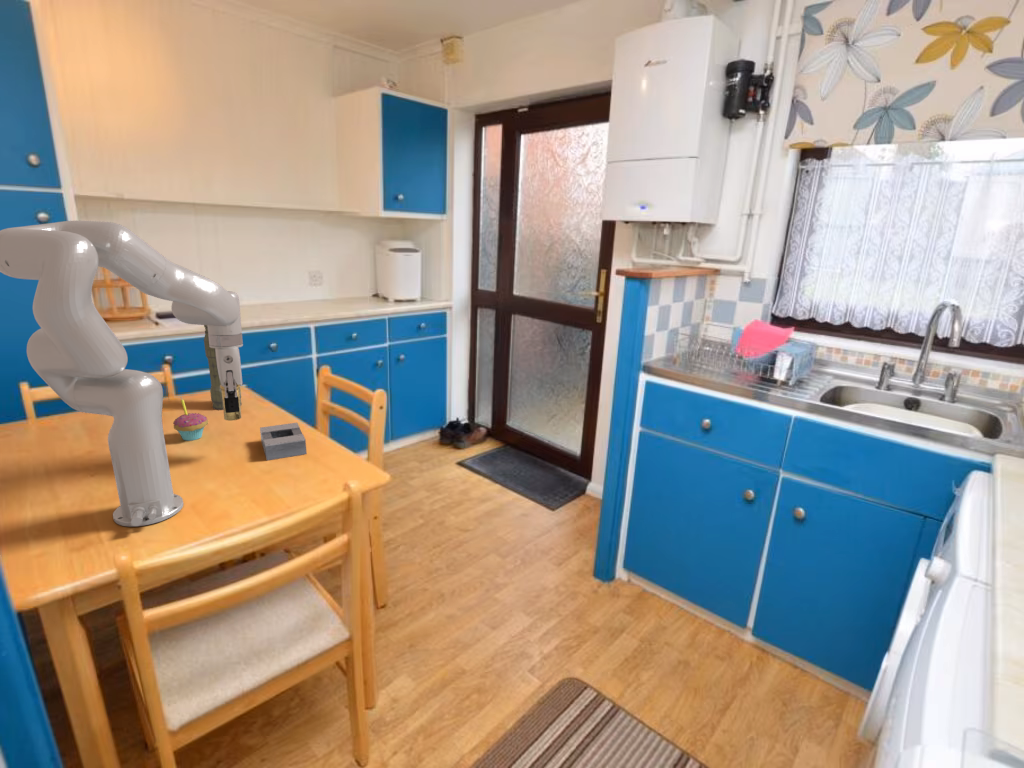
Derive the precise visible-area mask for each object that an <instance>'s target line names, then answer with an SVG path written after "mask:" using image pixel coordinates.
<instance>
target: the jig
mask: <svg viewBox="0 0 1024 768" xmlns="http://www.w3.org/2000/svg"><path fill="white" fill-rule="evenodd" d="M259 431H260V432H259V433H260V441H261V445H262V449H263V452H264V455H265V459H266V461H271V460H278V459H284V458H291V457H298V456H302V455H307V454H308V453H307V441H306V438H305V436H304V433H303V431H301V427H300V425H299V423H298V422H291V423H290V422H289V423H284V424H276V425H270V426H262V427H259Z"/></svg>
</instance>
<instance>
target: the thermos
mask: <svg viewBox="0 0 1024 768" xmlns="http://www.w3.org/2000/svg"><path fill="white" fill-rule="evenodd" d="M203 327H204V337H203V338H204V339H203V343H204V345H203V346H204V352H205V357H206V359H207V361H208V363H207V364H208V368H209V369H208V370H209V377H210V389H209V390H210V391H209V393H210V398H211V399H210V400H211V402H212V408H213V409H214V410H218V411H224V410H223V399H222V390H221V389H220V385H221V382H220V378H219V374H218V368H217V361H216V351H215V348H210V347H209V336H208V326H207V325H203ZM239 395H240V406H242V404H243V403H242V399H241V398H242V392H241V387H240V388H239Z"/></svg>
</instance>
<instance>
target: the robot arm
mask: <svg viewBox="0 0 1024 768" xmlns="http://www.w3.org/2000/svg"><path fill="white" fill-rule="evenodd" d="M99 267H100V268H103V269H106V270H108V271H109V272H111V273H112V274H114V275H115V276H117V277H118V278H120V279H121V280H124V282H127V283H128V284H129V285H131V286H132V287H134V288H135V289H137V290H138V291H140V293H143V294H146V295H148V296H149V297H150V296H151V297H154V298H158V299H160V300H165V301H170V302H171V306H170V307H171V312H172V315H173V316H174V317H175V319H177V320H179V322H181V323H184V324H188V325H199V326H200V325H201V326H204V325H207V326H208V336H209V347H210V348H215V351H216V361H217V368H218V374H219V378H220V382H221V386H223V387H224V389H225V398H224V401H225V411H226V413H232V412H239V399H238V396H237V386H236V383H237V385H239V384H240V387H241V386H243V376H242V375H243V374H242V363H241V355H240V349H239V348H242V347H243V346H244V342H243V330H242V320H241V318H242V317H241V306H240V298H239V294H238V292H237V293H236V292H235V291H230V290H227V289H226V288H224V287H223V286H222V285H220V284H219V283H217V282H216V281H214V280H212V279H210V278H208V277H206V276H204V275H202V274H200V273H198V272H196V271H193V270H190V269H189V268H186V267H185V266H182V265H179V264H176V263H174V262H172V261H171V260H170V259H168V258H167V257H166V256H164V255H163V254H162V253H160V252H159V251H158V250H157V249H155V248H154V247H152V246H151V245H150V244H148V242H146V241H145V240H144V239H142V238H141V237H140V236H138V235H137V234H136V233H135V232H134V231H132V230H131V229H129V228H128V227H127V226H124V225H122V224H120V223H117V222H111V221H100V220H99V221H97V220H95V221H94V220H65V221H64V220H63V221H57V222H50V223H49V222H48V223H43V224H42V223H40V224H32V225H25V226H16V227H15V226H14V227H7V228H4V229H3V228H2V229H1V230H0V273H2V275H5V276H8V277H10V278H14V279H21V280H31V281H32V280H34V281H38V282H37V286H36V289H35V293H34V297H33V302H32V314H33V316H34V319H35V322H36V323H37V324H38V326H39V329H37V330H36V331H35V332H33V333H32V334H31V336H30V337H29V339H28V341H27V344H26V356H27V359H28V362H29V364H30V366H31V367H32V369H33V370H34V372H36V374H37V375H38V376H39V377H40V378H41V379H42V380H43V381H44V383H45V384H46V385H48V387H49V388H50V389H51V390H52V391H53V392H54V393H55V394H56V395H57V396H58V397H59V398H60V399H61V400H62V401H63V402H64V404H67V405H68V406H69V407H70V408H72V409H73V410H75V411H77V412H81V413H86V414H94V415H101V416H104V415H105V416H109V417H113V422H112V425H111V426H110V428H109V432H108V433H107V445H108V449H109V454H110V459H111V465H112V469H113V475H114V478H115V486H116V489H117V495H118V499H119V506H118V507H117V508H116V509H115V510H114V511H113V512H112V519H113V521H114V522H115V523H116V524H117V525H118V526H122V527H143V526H149V525H153V524H157V523H160V522H162V521H166V520H167V519H169V518H172V517H173V516H175V515H177V513H179V512H180V511H181V510H182V509H183V507H184V499H183V497H181V496H180V495H179V494H176V493H174V489H173V484H172V477H171V471H170V470H171V469H170V464H169V458H168V452H167V446H166V440H165V435H164V427H163V401H164V389H163V386H162V384H161V382H160V381H159V379H157V377H155V376H154V375H152V374H150V373H149V372H148V373H147V372H145V371H142V370H136V369H126V367H127V365H128V353H127V351H126V349H125V346H123V344H122V343H121V341H120V339H119V338H118V337H117V336H116V334H115V333H114V331H113V330H112V329H111V328H110V326H109V325H108V323H106V321H105V319H104V318H103V316H102V315H101V314H100V312H99V311H98V309H97V308H96V306H95V304H94V302H93V297H92V292H93V291H92V290H93V285H94V281H95V280H94V279H95V277H96V276H97V275H96V274H97V272H98V268H99ZM226 383H228V386H226ZM233 383H234V384H235V385H233ZM227 388H228V389H227Z"/></svg>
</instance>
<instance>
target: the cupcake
mask: <svg viewBox="0 0 1024 768" xmlns="http://www.w3.org/2000/svg"><path fill="white" fill-rule="evenodd" d="M180 398H181V400H180V402H181V405H182V409H183V414H182V415H179V416H178V417H176V418H175V420H174V421H173V422H172V423H173V429H174V430H176V431H177V432H178V433H179V435H180V437H181V438H182V440H184V441H187V442H192V441H196V440H199V439H201V438H202V437H203V432H204V429H205V427H206V426H208V425H209V419H208V418H207V416H205V415H204V414H203V415H202V414H201V413H199V412H198V413H196V412H195V413H193V412H191V413H188V411H187V406H186V404H185V400H184V399H183V398H182V397H180Z"/></svg>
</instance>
